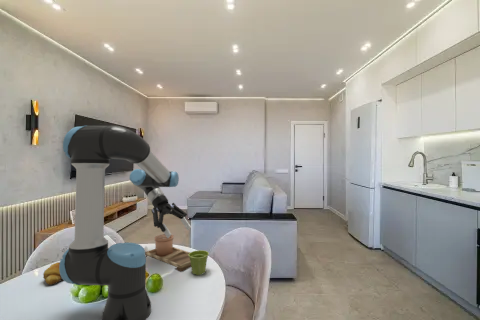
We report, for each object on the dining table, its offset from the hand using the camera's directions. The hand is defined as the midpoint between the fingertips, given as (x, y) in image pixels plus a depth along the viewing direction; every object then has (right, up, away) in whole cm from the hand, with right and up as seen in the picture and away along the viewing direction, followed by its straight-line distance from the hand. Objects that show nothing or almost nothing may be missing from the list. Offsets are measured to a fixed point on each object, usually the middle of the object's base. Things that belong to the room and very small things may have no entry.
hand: (179, 232), depth 123 cm
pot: (-12, -16, +15) cm, 25 cm away
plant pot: (+10, -17, -5) cm, 21 cm away
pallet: (-6, -17, +10) cm, 21 cm away
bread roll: (-52, -18, -12) cm, 56 cm away
